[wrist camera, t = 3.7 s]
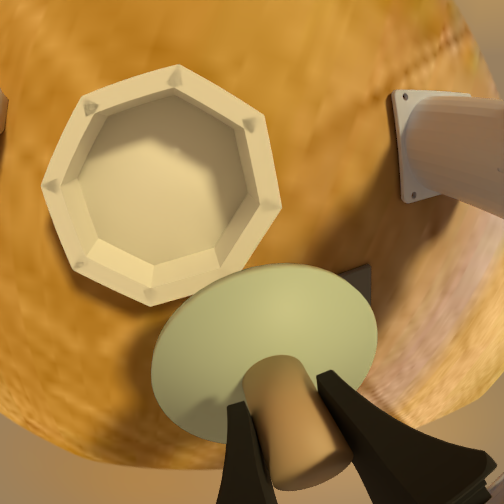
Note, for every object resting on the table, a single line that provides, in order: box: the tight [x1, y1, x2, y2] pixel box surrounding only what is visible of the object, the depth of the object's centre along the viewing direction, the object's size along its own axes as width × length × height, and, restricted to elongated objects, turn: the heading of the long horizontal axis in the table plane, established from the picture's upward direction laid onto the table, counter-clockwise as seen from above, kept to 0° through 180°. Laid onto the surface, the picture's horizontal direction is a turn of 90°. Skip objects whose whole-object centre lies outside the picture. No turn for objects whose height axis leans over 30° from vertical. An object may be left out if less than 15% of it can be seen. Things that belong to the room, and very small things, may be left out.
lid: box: [151, 263, 377, 491], centre depth 10 cm, size 10×10×6 cm
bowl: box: [41, 64, 282, 307], centre depth 14 cm, size 11×11×3 cm
